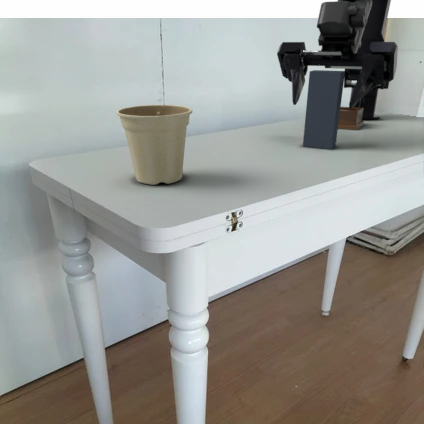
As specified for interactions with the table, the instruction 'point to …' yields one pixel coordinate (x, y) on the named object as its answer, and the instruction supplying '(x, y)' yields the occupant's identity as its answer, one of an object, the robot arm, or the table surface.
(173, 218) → the table surface
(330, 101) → the back pad
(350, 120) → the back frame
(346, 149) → the table surface
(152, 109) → the flower pot
